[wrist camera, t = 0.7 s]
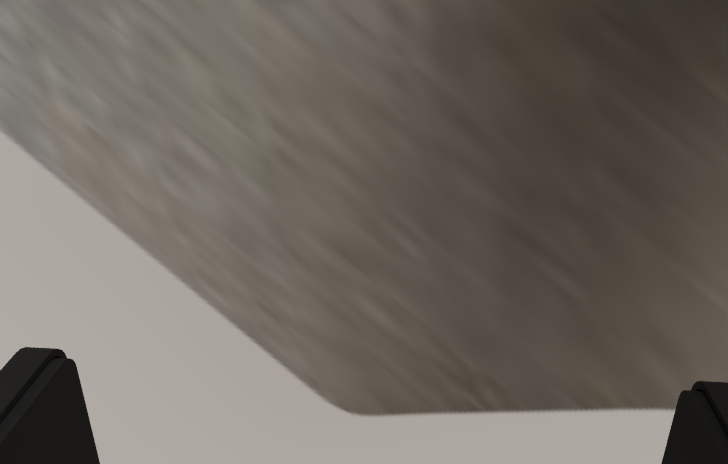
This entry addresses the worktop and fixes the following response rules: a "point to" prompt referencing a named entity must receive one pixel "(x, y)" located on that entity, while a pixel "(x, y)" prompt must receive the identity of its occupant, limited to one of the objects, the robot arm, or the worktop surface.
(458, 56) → the worktop surface
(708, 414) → the robot arm
